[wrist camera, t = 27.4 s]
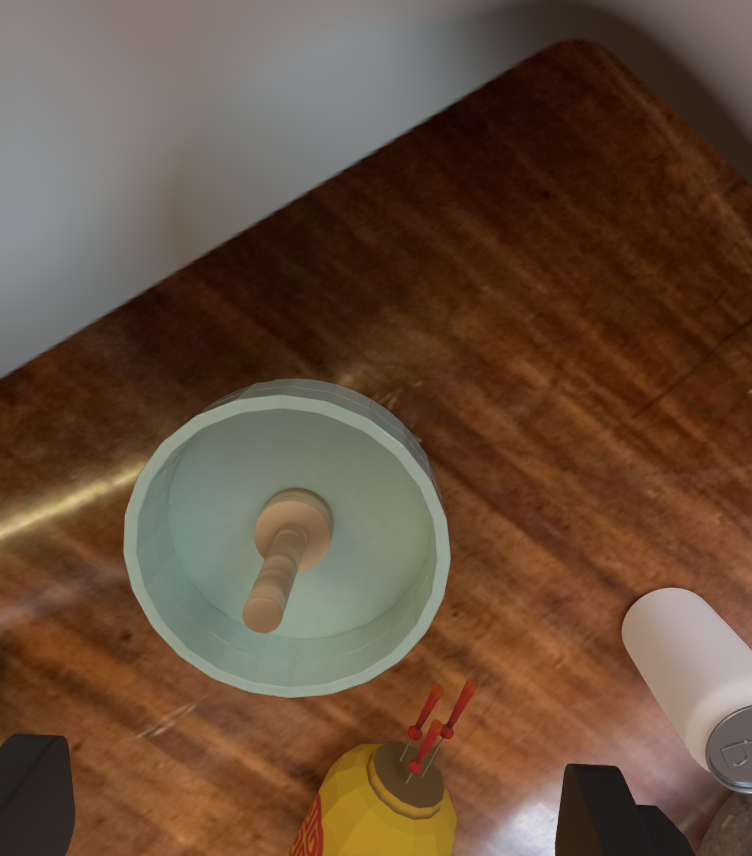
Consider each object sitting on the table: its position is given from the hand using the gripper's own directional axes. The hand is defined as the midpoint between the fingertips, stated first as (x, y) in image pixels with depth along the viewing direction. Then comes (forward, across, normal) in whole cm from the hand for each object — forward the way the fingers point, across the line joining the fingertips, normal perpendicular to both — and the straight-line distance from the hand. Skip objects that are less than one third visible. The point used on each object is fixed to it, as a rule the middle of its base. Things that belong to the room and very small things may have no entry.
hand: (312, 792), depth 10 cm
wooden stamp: (+32, +5, +9) cm, 33 cm away
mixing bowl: (+32, +5, +9) cm, 34 cm away
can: (+32, -21, +16) cm, 42 cm away
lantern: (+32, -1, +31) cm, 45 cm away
